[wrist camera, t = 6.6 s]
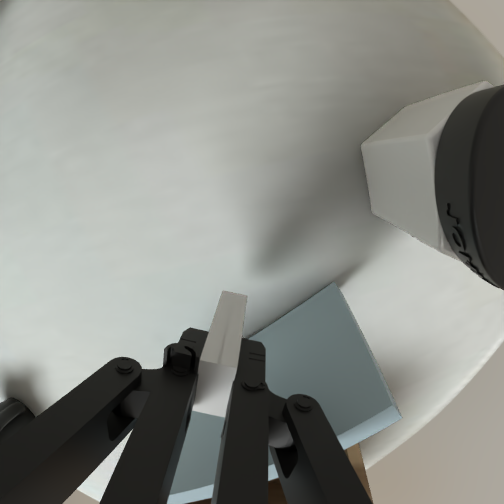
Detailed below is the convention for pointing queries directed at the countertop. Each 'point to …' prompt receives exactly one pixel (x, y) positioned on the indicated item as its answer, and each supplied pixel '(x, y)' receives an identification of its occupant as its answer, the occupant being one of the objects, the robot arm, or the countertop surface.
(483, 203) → the jar
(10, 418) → the mug
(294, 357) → the door
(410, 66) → the countertop surface
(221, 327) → the robot arm
